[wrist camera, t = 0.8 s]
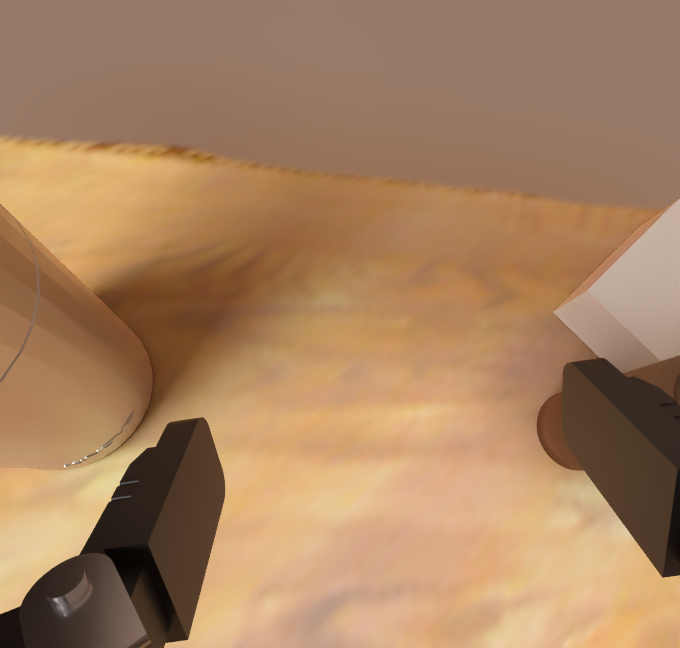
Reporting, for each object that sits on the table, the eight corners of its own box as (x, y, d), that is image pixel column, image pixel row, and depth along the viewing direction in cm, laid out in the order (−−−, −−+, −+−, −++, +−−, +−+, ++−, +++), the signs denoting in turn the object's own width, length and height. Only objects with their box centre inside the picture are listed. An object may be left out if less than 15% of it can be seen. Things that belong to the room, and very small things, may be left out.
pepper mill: (521, 427, 31) (674, 392, 19) (568, 377, 32) (741, 314, 20) (579, 487, 30) (779, 492, 18) (625, 433, 31) (840, 404, 19)
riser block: (552, 312, 33) (587, 290, 29) (637, 228, 36) (679, 198, 32) (667, 425, 32) (719, 417, 28) (747, 328, 34) (804, 309, 31)
